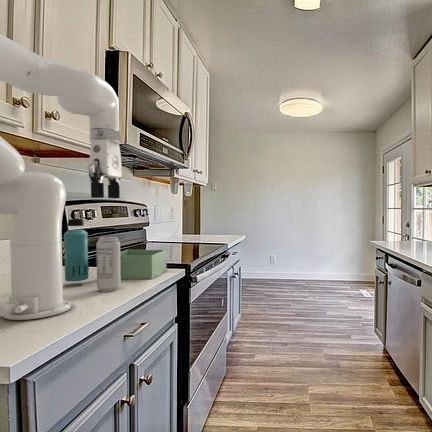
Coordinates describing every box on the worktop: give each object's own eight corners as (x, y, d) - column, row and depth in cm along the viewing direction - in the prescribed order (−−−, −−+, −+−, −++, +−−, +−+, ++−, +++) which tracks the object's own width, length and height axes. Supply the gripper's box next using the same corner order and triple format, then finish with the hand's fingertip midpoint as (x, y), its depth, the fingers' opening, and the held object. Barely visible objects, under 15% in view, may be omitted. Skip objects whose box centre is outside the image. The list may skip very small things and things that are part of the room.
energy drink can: (125, 287, 104) (124, 236, 104) (109, 292, 98) (108, 238, 98) (108, 286, 106) (108, 236, 105) (92, 291, 100) (91, 238, 100)
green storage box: (152, 278, 117) (151, 255, 116) (108, 279, 116) (107, 255, 116) (166, 270, 132) (166, 249, 132) (127, 270, 131) (127, 249, 131)
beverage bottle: (69, 287, 104) (68, 219, 103) (60, 284, 108) (59, 218, 107) (93, 283, 109) (92, 218, 109) (83, 280, 113) (82, 218, 113)
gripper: (103, 131, 93) (105, 197, 93) (130, 142, 110) (131, 198, 111) (74, 131, 92) (75, 197, 93) (106, 142, 110) (107, 198, 110)
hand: (106, 198), depth 102 cm, fingers open, 9 cm apart
